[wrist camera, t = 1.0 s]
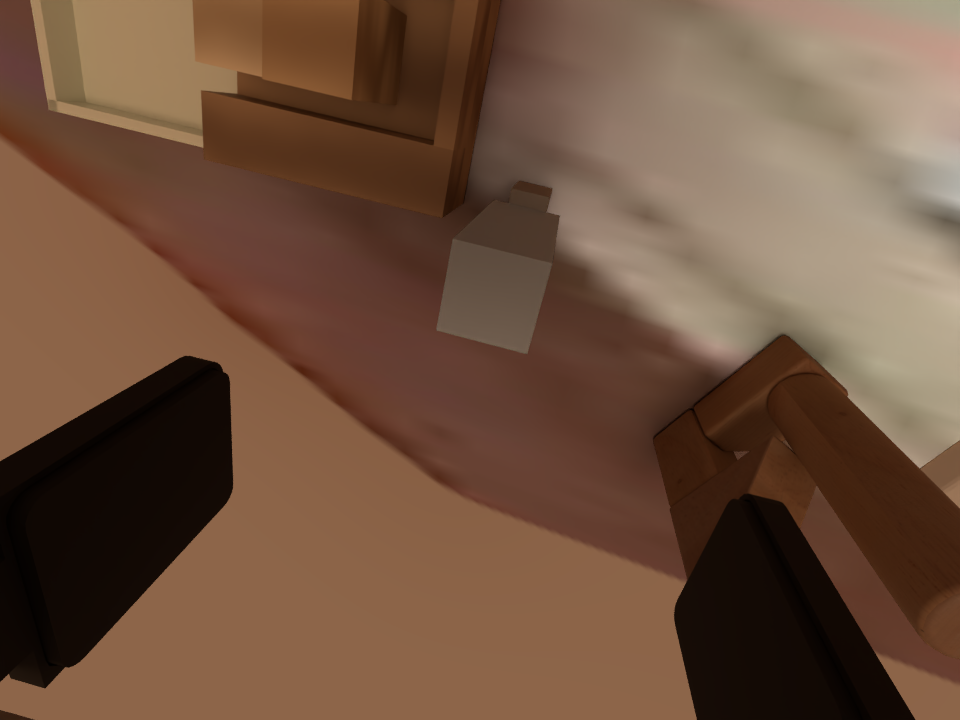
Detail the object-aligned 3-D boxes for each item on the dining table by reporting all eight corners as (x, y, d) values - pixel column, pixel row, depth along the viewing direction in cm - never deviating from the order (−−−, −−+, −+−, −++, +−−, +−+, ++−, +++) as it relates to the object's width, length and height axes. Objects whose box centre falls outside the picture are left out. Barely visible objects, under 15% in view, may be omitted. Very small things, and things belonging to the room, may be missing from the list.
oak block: (329, -2, 25) (262, -37, 19) (407, 15, 24) (360, -16, 19) (324, 88, 26) (262, 78, 21) (396, 105, 26) (351, 99, 21)
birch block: (245, -21, 25) (190, -45, 21) (320, -4, 25) (277, -26, 21) (245, 70, 27) (195, 61, 23) (316, 86, 27) (276, 80, 23)
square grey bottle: (506, 177, 29) (456, 216, 17) (565, 191, 29) (558, 242, 17) (488, 259, 31) (432, 348, 19) (542, 273, 31) (522, 371, 19)
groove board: (264, -118, 25) (189, -177, 20) (512, -66, 24) (497, -114, 20) (262, 154, 31) (203, 159, 26) (463, 203, 30) (442, 218, 25)
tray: (48, -163, 26) (-2, -190, 24) (260, -118, 25) (230, -142, 23) (85, 110, 32) (48, 109, 30) (259, 153, 31) (234, 155, 29)
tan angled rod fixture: (650, 438, 35) (715, 704, 19) (782, 331, 30) (1020, 562, 14) (687, 468, 35) (783, 753, 19) (824, 367, 31) (1097, 631, 15)
